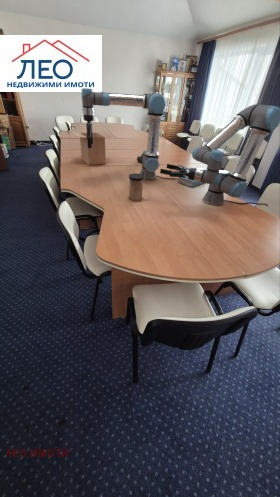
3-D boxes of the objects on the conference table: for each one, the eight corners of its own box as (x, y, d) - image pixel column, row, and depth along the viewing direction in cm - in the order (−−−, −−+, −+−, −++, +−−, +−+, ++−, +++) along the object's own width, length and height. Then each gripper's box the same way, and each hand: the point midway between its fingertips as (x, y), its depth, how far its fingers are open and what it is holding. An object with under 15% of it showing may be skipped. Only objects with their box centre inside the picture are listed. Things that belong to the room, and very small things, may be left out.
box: (116, 165, 229) (116, 136, 213) (83, 168, 214) (80, 137, 198) (102, 154, 259) (101, 128, 243) (71, 156, 244) (68, 129, 228)
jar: (126, 197, 166) (126, 176, 156) (135, 194, 172) (136, 173, 162) (135, 201, 161) (136, 179, 151) (144, 198, 167) (146, 176, 157)
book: (192, 177, 213) (193, 172, 210) (206, 182, 204) (207, 177, 201) (177, 182, 200) (178, 176, 197) (192, 187, 191) (193, 182, 188)
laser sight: (156, 165, 238) (157, 155, 232) (135, 163, 241) (136, 153, 235) (157, 163, 245) (158, 153, 240) (137, 160, 248) (138, 151, 242)
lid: (125, 177, 157) (125, 175, 156) (136, 174, 164) (136, 172, 163) (136, 182, 152) (137, 179, 150) (147, 178, 158) (147, 176, 157)
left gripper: (84, 112, 170) (87, 142, 182) (81, 116, 150) (84, 149, 163) (94, 112, 171) (96, 142, 183) (92, 116, 151) (94, 149, 163)
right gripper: (190, 186, 132) (156, 179, 138) (198, 175, 151) (168, 169, 157) (192, 173, 128) (158, 167, 134) (200, 164, 147) (170, 158, 153)
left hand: (90, 146), depth 173 cm, fingers open, 13 cm apart
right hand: (163, 168), depth 145 cm, fingers open, 13 cm apart
